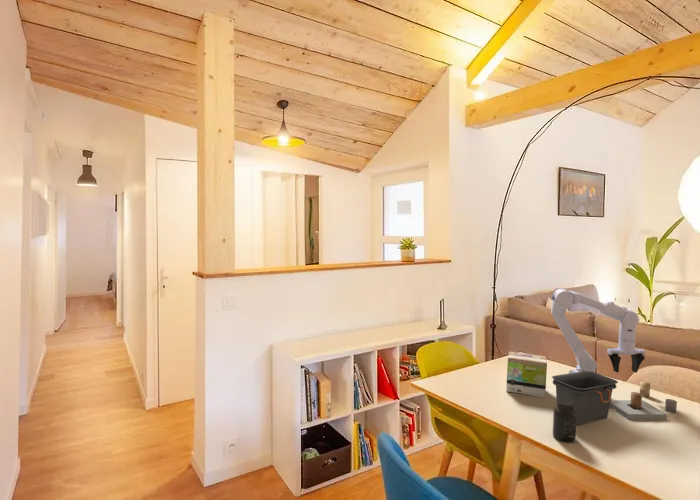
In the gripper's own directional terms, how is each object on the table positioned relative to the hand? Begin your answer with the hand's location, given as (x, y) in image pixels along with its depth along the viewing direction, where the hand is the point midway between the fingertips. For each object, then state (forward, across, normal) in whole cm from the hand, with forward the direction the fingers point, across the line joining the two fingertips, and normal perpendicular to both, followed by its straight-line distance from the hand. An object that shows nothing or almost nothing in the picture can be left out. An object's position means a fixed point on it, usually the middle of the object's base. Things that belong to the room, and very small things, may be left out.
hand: (625, 371), depth 175 cm
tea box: (+10, -39, +4) cm, 40 cm away
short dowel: (+10, +8, -14) cm, 19 cm away
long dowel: (+10, -6, -16) cm, 19 cm away
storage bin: (+10, -28, -21) cm, 36 cm away
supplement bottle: (+10, -42, -35) cm, 56 cm away
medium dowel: (+10, +8, 0) cm, 13 cm away
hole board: (+10, -6, -16) cm, 19 cm away
